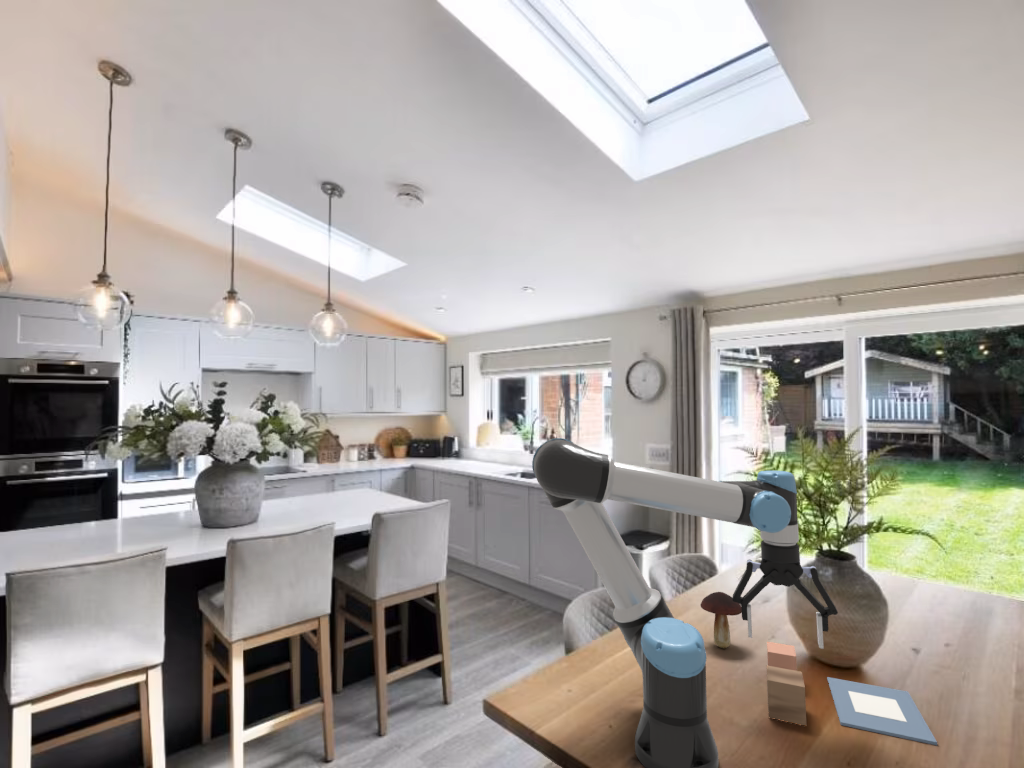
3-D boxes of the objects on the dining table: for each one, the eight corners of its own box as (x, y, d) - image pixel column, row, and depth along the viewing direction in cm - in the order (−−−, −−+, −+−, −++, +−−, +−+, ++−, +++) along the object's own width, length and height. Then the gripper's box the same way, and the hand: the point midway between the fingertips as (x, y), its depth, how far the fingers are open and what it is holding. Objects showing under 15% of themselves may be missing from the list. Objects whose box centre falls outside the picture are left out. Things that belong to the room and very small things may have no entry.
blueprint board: (937, 745, 99) (937, 741, 99) (840, 725, 106) (840, 721, 106) (908, 694, 117) (907, 691, 117) (827, 679, 124) (827, 676, 124)
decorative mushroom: (709, 635, 149) (707, 583, 150) (748, 646, 142) (746, 591, 143) (695, 649, 140) (694, 593, 141) (737, 660, 133) (735, 602, 134)
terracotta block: (797, 691, 118) (796, 656, 119) (768, 686, 121) (767, 651, 121) (795, 679, 124) (794, 645, 124) (768, 674, 126) (766, 641, 127)
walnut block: (806, 727, 105) (804, 687, 106) (768, 718, 108) (767, 680, 109) (803, 709, 111) (801, 671, 112) (767, 701, 114) (766, 665, 115)
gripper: (843, 542, 110) (849, 643, 109) (719, 533, 121) (723, 624, 119) (849, 551, 103) (855, 658, 102) (717, 540, 114) (722, 637, 113)
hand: (784, 640), depth 111 cm, fingers open, 13 cm apart
